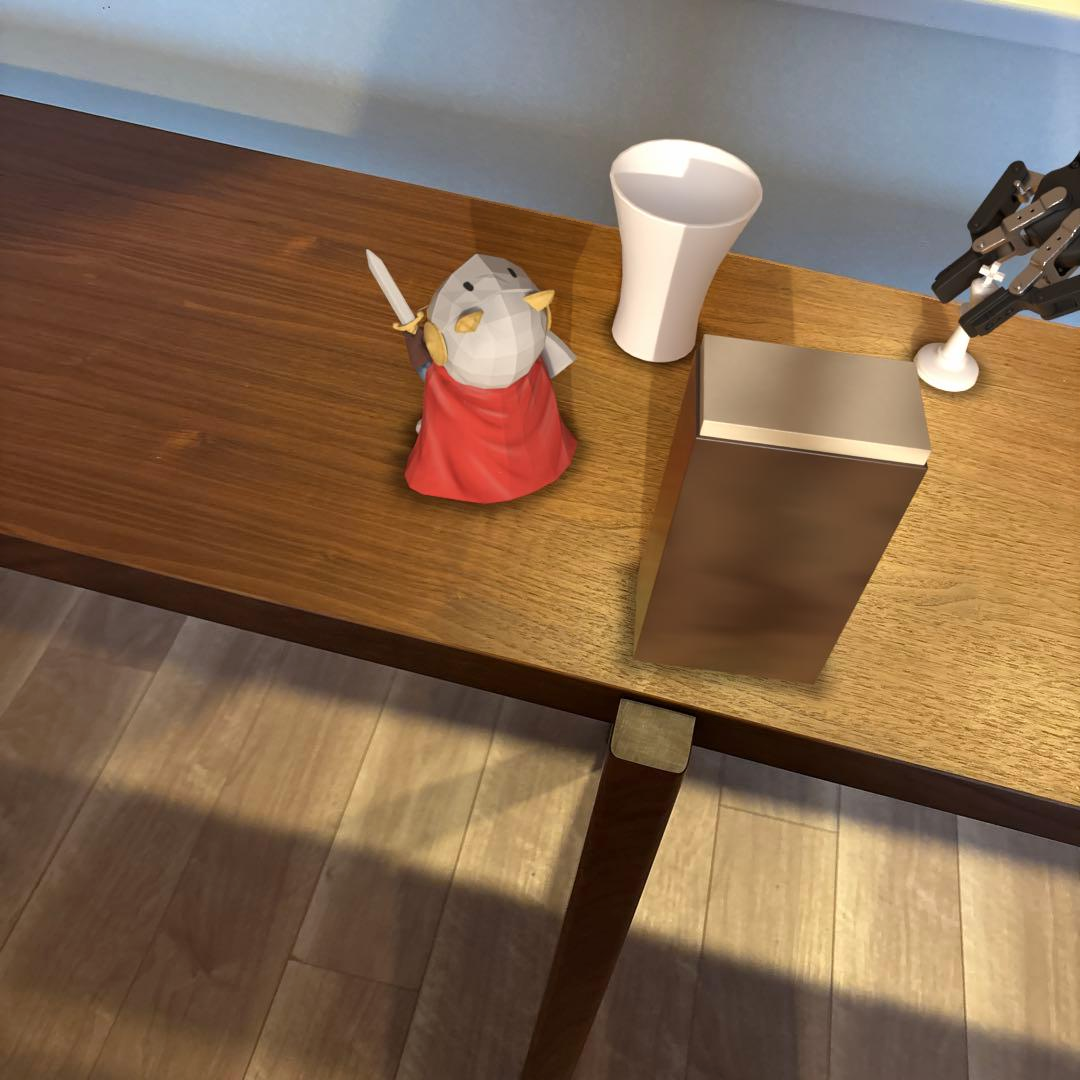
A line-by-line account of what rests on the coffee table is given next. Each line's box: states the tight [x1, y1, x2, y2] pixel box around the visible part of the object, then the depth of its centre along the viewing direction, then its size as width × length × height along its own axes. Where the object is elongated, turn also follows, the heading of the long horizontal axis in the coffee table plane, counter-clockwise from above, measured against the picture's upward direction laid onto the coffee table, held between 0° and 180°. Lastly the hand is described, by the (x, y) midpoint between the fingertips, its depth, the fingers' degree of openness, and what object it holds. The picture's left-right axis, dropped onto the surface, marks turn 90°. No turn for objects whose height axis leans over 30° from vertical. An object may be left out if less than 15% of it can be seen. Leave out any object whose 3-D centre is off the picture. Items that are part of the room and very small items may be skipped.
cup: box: [609, 138, 764, 363], centre depth 80 cm, size 10×10×14 cm
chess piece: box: [912, 261, 1007, 392], centre depth 82 cm, size 5×5×10 cm
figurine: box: [365, 248, 579, 505], centre depth 71 cm, size 13×11×15 cm
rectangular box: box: [632, 333, 932, 685], centre depth 60 cm, size 11×6×20 cm, turn 84°
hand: (951, 312), depth 80 cm, fingers open, 3 cm apart
